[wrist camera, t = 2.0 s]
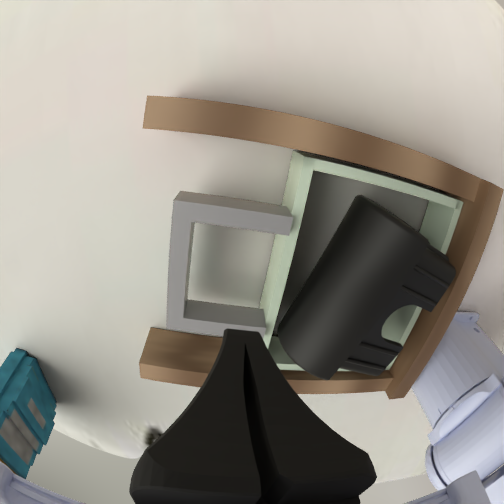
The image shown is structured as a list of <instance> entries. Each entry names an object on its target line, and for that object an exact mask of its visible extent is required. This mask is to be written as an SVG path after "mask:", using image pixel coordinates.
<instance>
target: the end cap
mask: <svg viewBox="0 0 504 504" xmlns="http://www.w3.org/2000/svg"><path fill="white" fill-rule="evenodd" d="M455 274H456V270H455V267H454V266H453V265H452V264H451V263H449V258H448V256H446V255H445V254H443V253H442V252H440V251H439V250H438V249H436V248H435V247H433V246H432V245H430V243H429V241H428V239H427V238H425V237H424V236H423V235H421V234H420V233H419V232H417V231H416V230H415V229H413V228H412V227H411V226H409V225H408V224H406V223H405V222H404V221H402V220H401V219H399V218H398V217H397V216H395V215H394V214H392V213H391V212H389V211H388V210H386V209H385V208H383V207H382V206H380V205H379V204H377V203H375V202H374V201H372V200H370V199H368V198H366V197H365V196H362V195H357V196H356V197H355V199H354V200H353V202H352V204H351V206H350V208H349V209H348V211H347V213H346V215H345V217H344V218H343V220H342V222H341V224H340V225H339V227H338V229H337V231H336V232H335V234H334V236H333V238H332V239H331V241H330V243H329V244H328V246H327V248H326V250H325V251H324V253H323V255H322V256H321V258H320V260H319V261H318V263H317V265H316V266H315V268H314V270H313V271H312V273H311V275H310V276H309V278H308V279H307V281H306V283H305V284H304V286H303V288H302V289H301V291H300V292H299V294H298V296H297V297H296V299H295V300H294V302H293V304H292V305H291V307H290V308H289V310H288V311H287V313H286V315H285V316H284V318H283V319H282V321H281V322H280V324H279V327H278V337H279V341H280V343H281V345H282V347H283V349H284V351H285V352H286V353H287V355H288V356H289V357H290V358H291V359H292V360H293V361H294V362H295V363H296V364H297V365H298V366H299V367H301V368H302V369H303V370H305V371H306V372H308V373H310V374H311V375H313V376H316V377H318V378H321V379H324V380H330V378H331V377H332V376H333V375H334V374H335V373H336V372H337V370H338V369H339V368H341V369H345V370H349V371H354V372H358V373H363V374H367V375H372V376H379V375H380V374H381V373H382V372H383V371H384V370H385V369H386V368H387V366H388V365H389V364H390V363H391V362H392V361H393V360H394V358H395V357H396V356H397V355H398V354H399V353H400V351H401V350H402V349H403V346H402V345H401V343H398V342H395V341H392V340H388V339H386V338H383V337H382V327H383V325H384V323H385V321H386V320H387V318H388V317H389V316H390V315H391V314H392V313H393V312H395V311H396V310H397V309H399V308H401V307H404V306H407V305H416V306H418V307H421V308H423V309H425V310H427V311H429V312H432V310H433V309H434V307H435V306H436V305H437V303H438V302H439V300H440V299H441V298H442V296H443V295H444V293H445V292H446V290H447V289H448V288H449V286H450V284H451V283H452V281H453V280H454V278H455Z"/></svg>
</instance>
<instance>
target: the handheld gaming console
mask: <svg viewBox="0 0 504 504" xmlns="http://www.w3.org/2000/svg"><path fill="white" fill-rule="evenodd" d="M55 408H56V400H55V398H54V396H53V394H52V392H51V390H50V388H49V386H48V384H47V381H46V379H45V377H44V375H43V373H42V371H41V368H40V366H39V364H38V361H37V359H36V358H33V357H30V356H28V354H27V351H25V350H22V349H19V348H16V349H15V351H14V352H10V354H9V355H8V357H7V358H6V360H5V361H4V363H3V364H2V366H1V367H0V461H1V462H2V463H3V464H5V465H6V466H7V467H8V468H9V469H10V470H11V471H12V472H13V473H14V474H16V475H18V476H20V477H22V478H24V479H26V477H27V474H28V471H29V468H30V465H31V466H32V465H33V463H34V460H35V457H36V454H40V452H41V449H42V447H43V444H44V445H46V444H47V442H48V439H49V436H50V434H51V431H52V429H53V426H54V424H55V423H54V421H53V419H54V417H55V415H56V412H55V411H54V410H55Z"/></svg>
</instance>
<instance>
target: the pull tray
mask: <svg viewBox="0 0 504 504" xmlns="http://www.w3.org/2000/svg"><path fill="white" fill-rule="evenodd" d="M313 170H315V171H319V172H324V173H328V174H333V175H337V176H342V177H346V178H350V179H354V180H358V181H362V182H366V183H370V184H374V185H378V186H381V187H385V188H389V189H392V190H396V191H400V192H403V193H406V194H410V195H413V196H417V197H420V198H423V199H426V200H429V203H428V206H427V210H426V213H425V216H424V219H423V222H422V226H421V229H420V232H419V233H420V234H421V235H423V236H424V237H425V238H427V239H428V241H429V243H430V245H432V246H433V247H435V248H436V249H438V250H439V251H440V252H442V253H443V254H445V255H446V252H447V250H448V247H449V244H450V241H451V239H452V236H453V233H454V230H455V227H456V224H457V221H458V218H459V215H460V212H461V209H462V205H463V202H462V201H460V200H458V199H456V198H454V197H452V196H450V195H448V194H446V193H443V192H441V191H439V190H437V189H434V188H431V187H428V186H425V185H422V184H419V183H416V182H413V181H410V180H406V179H403V178H400V177H397V176H393V175H390V174H387V173H383V172H380V171H376V170H373V169H369V168H365V167H362V166H358V165H354V164H350V163H346V162H342V161H338V160H334V159H330V158H326V157H321V156H317V155H312V154H308V153H303V152H298V151H294V150H293V154H292V158H291V163H290V168H289V173H288V178H287V183H286V187H285V192H284V197H283V202H282V206H281V205H275V204H269V203H262V202H256V201H250V200H243V199H236V198H230V197H223V196H216V195H208V194H201V193H193V192H186V191H180V192H179V194H178V195H177V196H176V198H175V199H174V202H173V213H172V224H171V237H170V251H169V268H168V290H167V328H168V329H174V330H181V331H188V332H195V333H202V334H210V335H219V336H223V333H224V330H225V329H227V328H229V329H238V330H247V331H257V332H259V333H260V334H261V336H262V338H263V340H264V343H265V345H266V347H267V349H268V350H269V352H270V354H271V356H272V358H273V359H274V361H275V363H276V364H277V366H278V368H279V369H280V370H301V371H305V370H303V369H302V368H301V367H299V366H298V365H297V364H296V363H295V362H294V361H293V360H292V359H291V358H290V357H289V356H288V355H287V353H286V352H285V351H284V349H283V347H282V345H281V343H280V341H279V337H275V336H272V333H273V329H274V325H275V322H276V318H277V315H278V311H279V307H280V303H281V300H282V296H283V292H284V288H285V285H286V281H287V277H288V273H289V269H290V265H291V261H292V257H293V253H294V249H295V245H296V241H297V237H298V233H299V229H300V225H301V221H302V217H303V212H304V208H305V204H306V200H307V195H308V191H309V187H310V182H311V178H312V173H313ZM195 222H196V223H204V224H211V225H218V226H225V227H232V228H239V229H246V230H253V231H260V232H267V233H273V234H275V239H274V243H273V248H272V252H271V257H270V262H269V266H268V271H267V275H266V279H265V284H264V288H263V293H262V297H261V301H260V306H259V308H250V307H241V306H233V305H225V304H217V303H209V302H202V301H194V300H187V297H188V285H189V273H190V262H191V252H192V242H193V233H194V224H195ZM421 310H422V308H421V307H418V306H416V305H407V306H404V307H401V308H399V309H397V310H396V311H395V312H393V313H392V314H391V315H390V316H389V317H388V318H387V320H386V321H385V323H384V325H383V327H382V337H383V338H386V339H388V340H392V341H395V342H398V343H401V345H402V346H403V345H404V343H405V341H406V339H407V338H408V336H409V334H410V332H411V330H412V328H413V326H414V324H415V322H416V320H417V318H418V316H419V314H420V312H421ZM397 356H398V355H397ZM397 356H396V357H397ZM396 357H395V358H394V360H393V361H392V362H391V363H390V364H389V365H388V366H387V368H386V369H385V370H389V369H390V368H391V366H392V364H393V363H394V361H395V359H396ZM337 371H349V370H345V369H341V368H339V369H338V370H337Z"/></svg>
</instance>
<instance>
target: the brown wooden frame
mask: <svg viewBox="0 0 504 504" xmlns="http://www.w3.org/2000/svg"><path fill="white" fill-rule="evenodd" d="M143 128H145V129H159V130H170V131H180V132H190V133H199V134H207V135H215V136H222V137H229V138H236V139H242V140H248V141H254V142H260V143H266V144H271V145H277V146H282V147H287V148H292V149H297V150H302V151H306V152H311V153H315V154H320V155H324V156H328V157H333V158H337V159H341V160H345V161H349V162H353V163H356V164H360V165H364V166H367V167H371V168H375V169H378V170H382V171H385V172H388V173H392V174H395V175H398V176H402V177H405V178H408V179H411V180H414V181H417V182H420V183H423V184H426V185H429V186H432V187H435V188H438V189H439V191H441V192H443V193H446V194H448V195H450V196H452V197H454V198H456V199H458V200H460V201H462V202H463V205H462V209H461V212H460V215H459V218H458V221H457V224H456V227H455V230H454V233H453V236H452V239H451V241H450V244H449V247H448V250H447V252H446V256H448V258H449V263H451V264H452V265H453V266H454V267H455V270H456V274H455V278H454V280H453V281H452V283H451V284H450V286H449V288H448V289H447V290H446V292H445V293H444V295H443V296H442V298H441V299H440V300H439V302H438V303H437V305H436V306H435V307H434V309H433V310H432V312H429V311H427V310H425V309H423V308H422V310H421V312H420V314H419V316H418V318H417V320H416V322H415V324H414V326H413V328H412V330H411V332H410V334H409V336H408V338H407V339H406V341H405V343H404V345H403V349H402V350H401V351H400V353H399V354H398V356H397V357H396V359H395V361H394V363H393V364H392V366H391V368H390V369H389V370H384V371H383V372H382V373H381V374H380V375H379V376H372V375H367V374H363V373H358V372H354V371H337V372H336V373H335V374H334V375H333V376H332V377H331V378H330V380H324V379H321V378H318V377H316V376H313V375H311V374H310V373H308V372H306V371H301V370H280V371H281V373H282V374H283V376H284V377H285V379H286V380H287V381H288V383H289V384H290V386H291V387H292V388H293V390H294V391H295V392H296V393H297V394H338V393H361V392H376V391H386V394H387V396H388V398H389V399H396V398H404V397H405V395H406V394H407V393H408V391H409V390H410V388H411V387H412V385H413V384H414V383H415V381H416V380H417V378H418V377H419V375H420V374H421V372H422V371H423V369H424V367H425V366H426V364H427V363H428V361H429V360H430V358H431V356H432V355H433V353H434V351H435V350H436V348H437V346H438V345H439V343H440V341H441V340H442V338H443V336H444V334H445V332H446V331H447V329H448V327H449V325H450V323H451V321H452V320H453V318H454V316H455V314H456V312H457V310H458V308H459V306H460V304H461V302H462V300H463V298H464V296H465V294H466V291H467V289H468V287H469V285H470V283H471V281H472V278H473V276H474V274H475V271H476V269H477V267H478V264H479V262H480V259H481V257H482V254H483V252H484V249H485V246H486V244H487V241H488V238H489V235H490V232H491V230H492V227H493V224H494V220H495V217H496V214H497V211H498V208H499V204H500V201H501V197H502V194H503V190H504V189H502V188H500V187H498V186H496V185H494V184H492V183H490V182H488V181H485V180H483V179H480V178H478V177H476V176H474V175H472V174H470V173H467V172H465V171H463V170H461V169H459V168H456V167H454V166H452V165H450V164H447V163H445V162H443V161H440V160H438V159H435V158H433V157H430V156H428V155H425V154H423V153H420V152H417V151H415V150H412V149H409V148H407V147H404V146H401V145H398V144H395V143H393V142H390V141H387V140H384V139H381V138H378V137H374V136H371V135H368V134H365V133H362V132H358V131H355V130H351V129H348V128H344V127H341V126H337V125H333V124H330V123H326V122H322V121H318V120H314V119H309V118H305V117H301V116H296V115H292V114H287V113H282V112H277V111H272V110H267V109H261V108H255V107H250V106H243V105H237V104H230V103H223V102H215V101H207V100H198V99H188V98H177V97H163V96H147V101H146V107H145V114H144V122H143ZM222 340H223V338H221V337H213V336H205V335H197V334H190V333H183V332H176V331H170V330H163V329H157V328H150V331H149V334H148V337H147V340H146V343H145V346H144V350H143V353H142V356H141V359H140V362H139V366H140V376H141V378H144V379H150V380H155V381H161V382H167V383H174V384H180V385H188V386H195V387H201V386H202V385H203V383H204V381H205V380H206V378H207V376H208V374H209V372H210V371H211V369H212V367H213V365H214V362H215V360H216V358H217V356H218V353H219V351H220V348H221V345H222Z"/></svg>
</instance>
